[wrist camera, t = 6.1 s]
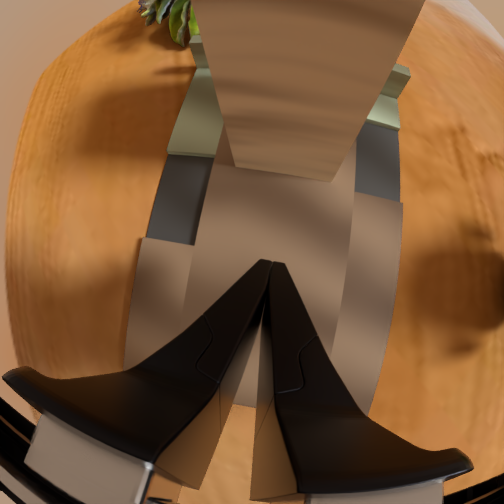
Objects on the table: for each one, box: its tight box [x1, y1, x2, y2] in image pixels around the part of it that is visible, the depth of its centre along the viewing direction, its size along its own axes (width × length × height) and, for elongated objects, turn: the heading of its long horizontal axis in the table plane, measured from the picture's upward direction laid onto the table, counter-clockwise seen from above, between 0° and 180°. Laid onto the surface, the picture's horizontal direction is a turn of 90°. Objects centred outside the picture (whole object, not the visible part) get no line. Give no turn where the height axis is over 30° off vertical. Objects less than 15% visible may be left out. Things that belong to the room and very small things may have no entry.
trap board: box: [123, 35, 411, 416], centre depth 15 cm, size 24×16×4 cm, turn 170°
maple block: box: [191, 0, 425, 182], centre depth 10 cm, size 8×6×14 cm
